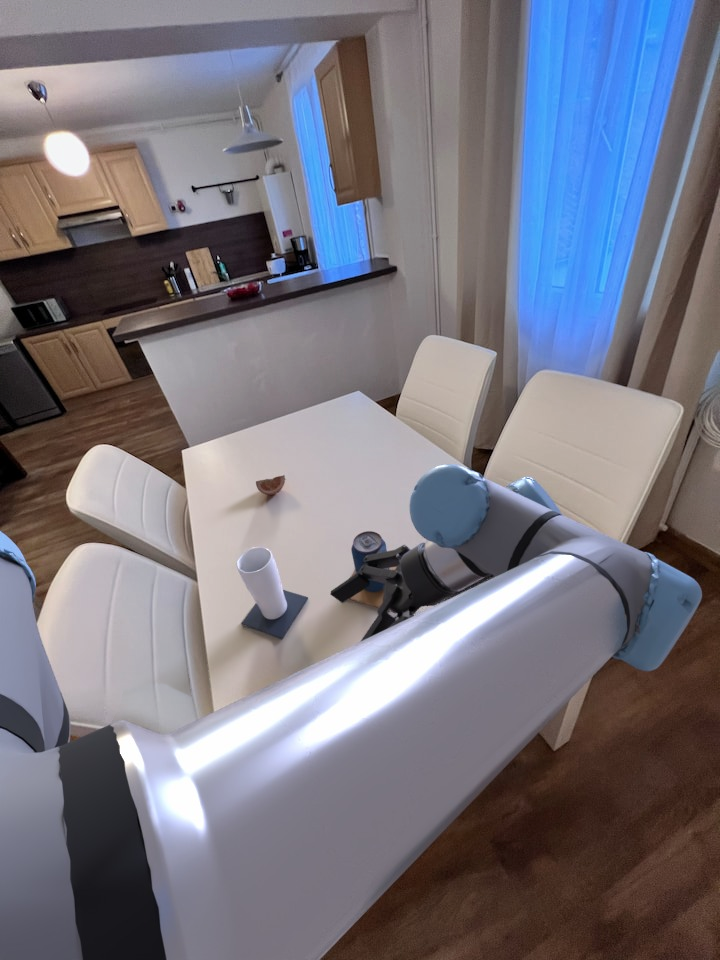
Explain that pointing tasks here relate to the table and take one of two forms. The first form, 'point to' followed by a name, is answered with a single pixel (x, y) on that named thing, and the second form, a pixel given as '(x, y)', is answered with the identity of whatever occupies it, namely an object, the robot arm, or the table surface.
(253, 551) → the drinking glass
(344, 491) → the table surface
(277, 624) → the slate mat
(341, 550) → the table surface
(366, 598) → the cork mat
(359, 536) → the soda can
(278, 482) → the fruit slice
